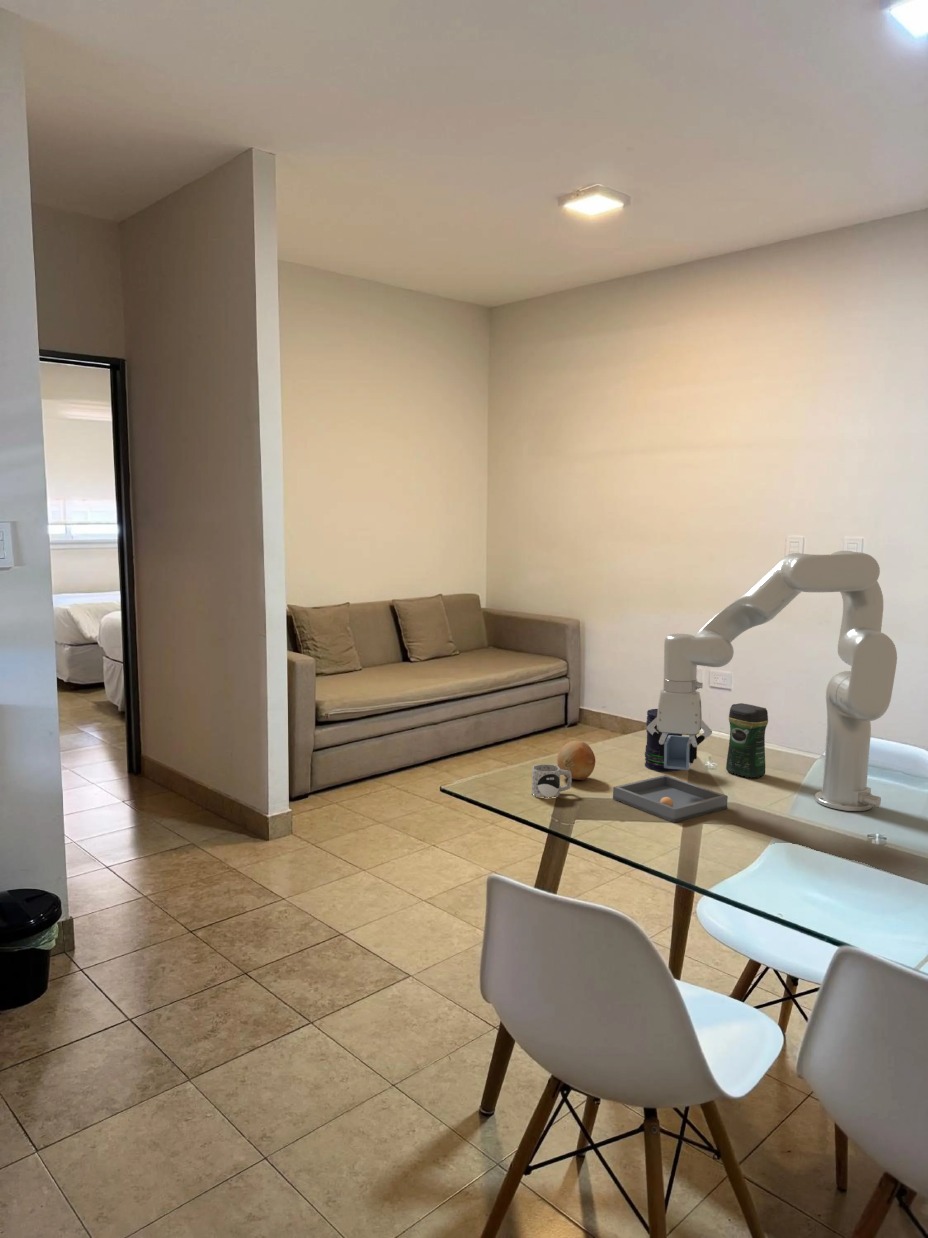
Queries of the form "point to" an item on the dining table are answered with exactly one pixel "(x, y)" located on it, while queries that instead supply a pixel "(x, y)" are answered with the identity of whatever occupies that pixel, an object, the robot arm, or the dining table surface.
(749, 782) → the dining table surface
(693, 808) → the tray
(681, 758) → the blue open box
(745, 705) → the coffee jar
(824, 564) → the robot arm
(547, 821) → the dining table surface
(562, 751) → the onion
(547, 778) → the mug
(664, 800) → the ball
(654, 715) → the storage jar
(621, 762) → the dining table surface
